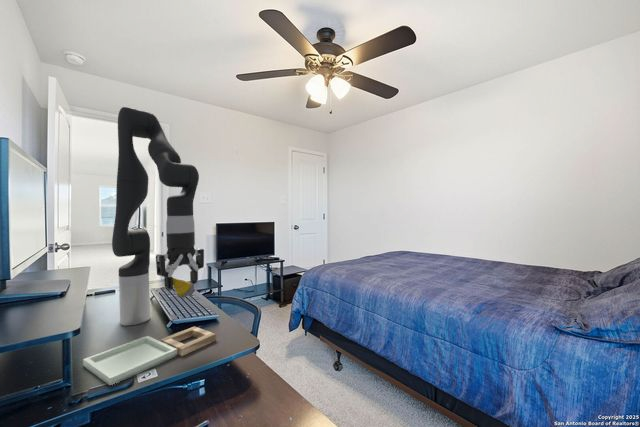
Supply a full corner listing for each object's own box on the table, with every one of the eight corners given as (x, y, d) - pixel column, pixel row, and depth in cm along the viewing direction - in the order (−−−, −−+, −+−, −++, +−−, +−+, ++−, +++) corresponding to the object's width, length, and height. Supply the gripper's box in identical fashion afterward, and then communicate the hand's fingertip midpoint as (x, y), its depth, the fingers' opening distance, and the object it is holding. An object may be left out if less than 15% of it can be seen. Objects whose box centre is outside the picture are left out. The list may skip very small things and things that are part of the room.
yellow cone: (198, 299, 86) (174, 281, 81) (183, 305, 87) (158, 287, 82) (201, 285, 91) (179, 266, 85) (188, 291, 92) (164, 273, 86)
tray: (83, 366, 75) (83, 359, 75) (147, 341, 88) (147, 335, 88) (110, 386, 66) (110, 378, 66) (177, 355, 80) (177, 349, 80)
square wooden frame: (160, 346, 85) (160, 339, 85) (194, 332, 94) (194, 326, 94) (182, 356, 79) (181, 349, 79) (215, 340, 88) (215, 333, 88)
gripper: (194, 228, 93) (195, 279, 94) (149, 232, 81) (150, 290, 82) (209, 229, 89) (210, 282, 90) (163, 233, 77) (165, 294, 78)
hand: (182, 286), depth 86 cm, fingers closed on yellow cone, 7 cm apart
